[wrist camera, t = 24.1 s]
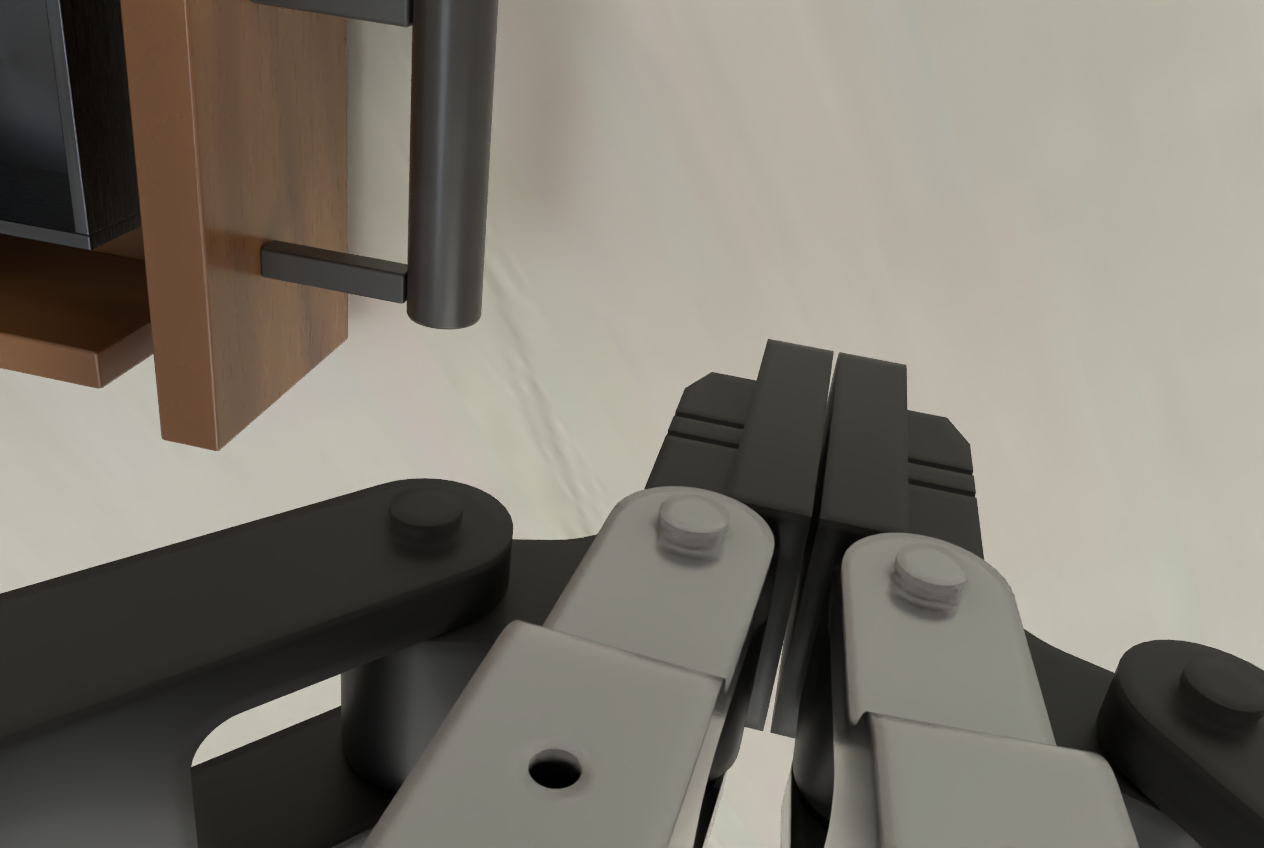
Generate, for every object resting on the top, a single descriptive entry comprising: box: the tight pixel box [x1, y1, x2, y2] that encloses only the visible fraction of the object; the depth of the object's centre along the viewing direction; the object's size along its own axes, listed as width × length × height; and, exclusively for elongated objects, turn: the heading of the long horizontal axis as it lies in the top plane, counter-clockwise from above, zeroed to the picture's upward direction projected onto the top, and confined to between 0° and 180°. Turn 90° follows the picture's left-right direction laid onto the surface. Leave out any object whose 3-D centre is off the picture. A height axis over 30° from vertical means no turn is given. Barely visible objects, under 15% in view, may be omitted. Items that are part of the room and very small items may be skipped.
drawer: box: [0, 0, 498, 451], centre depth 22 cm, size 19×11×6 cm, turn 84°
